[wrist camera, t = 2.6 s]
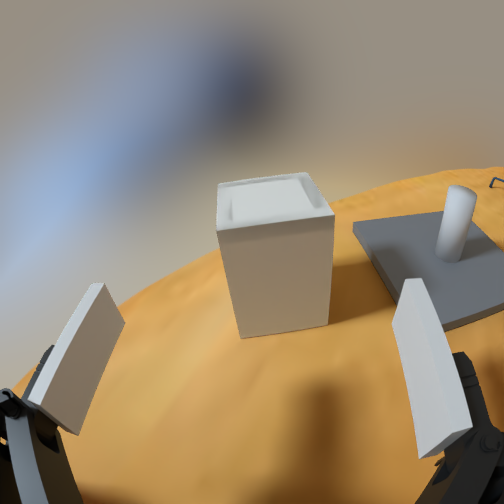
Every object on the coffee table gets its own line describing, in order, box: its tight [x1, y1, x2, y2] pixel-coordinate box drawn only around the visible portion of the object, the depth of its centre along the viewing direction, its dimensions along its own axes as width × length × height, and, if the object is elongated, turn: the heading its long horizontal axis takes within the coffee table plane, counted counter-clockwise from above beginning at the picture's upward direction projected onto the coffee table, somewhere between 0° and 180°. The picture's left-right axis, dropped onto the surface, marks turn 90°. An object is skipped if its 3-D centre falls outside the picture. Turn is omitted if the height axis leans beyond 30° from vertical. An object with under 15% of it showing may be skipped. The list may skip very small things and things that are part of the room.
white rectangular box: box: [216, 172, 335, 338], centre depth 23 cm, size 7×7×10 cm
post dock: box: [353, 185, 504, 332], centre depth 25 cm, size 16×16×8 cm
